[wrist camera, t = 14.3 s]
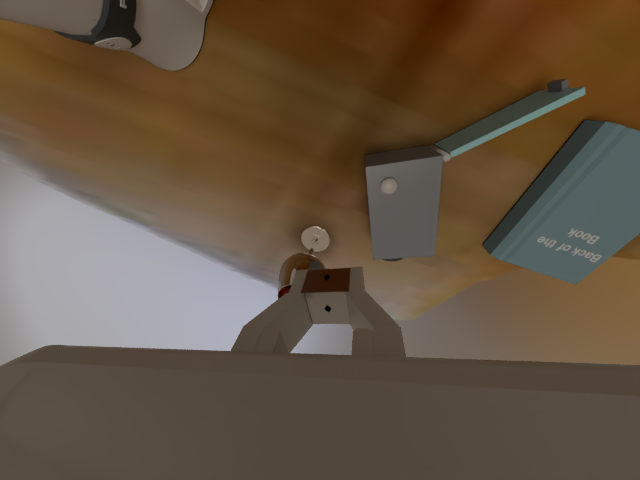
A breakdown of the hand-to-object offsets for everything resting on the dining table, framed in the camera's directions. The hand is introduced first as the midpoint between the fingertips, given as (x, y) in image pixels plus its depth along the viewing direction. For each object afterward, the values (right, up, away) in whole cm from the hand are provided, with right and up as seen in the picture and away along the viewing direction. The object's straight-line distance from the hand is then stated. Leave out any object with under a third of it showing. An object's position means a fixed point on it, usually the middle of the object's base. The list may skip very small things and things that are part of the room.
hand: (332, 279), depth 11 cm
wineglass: (-2, +2, +40) cm, 40 cm away
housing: (+14, +9, +32) cm, 36 cm away
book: (+42, +8, +29) cm, 52 cm away
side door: (+23, +20, +24) cm, 39 cm away
